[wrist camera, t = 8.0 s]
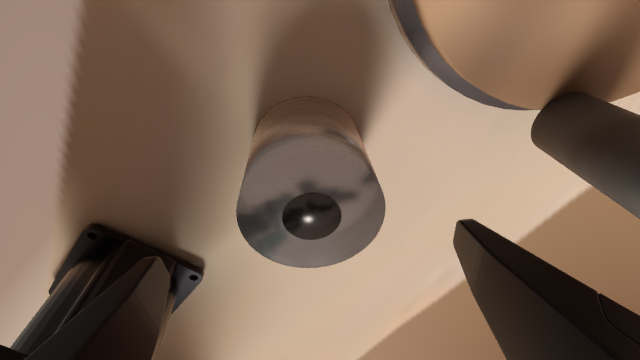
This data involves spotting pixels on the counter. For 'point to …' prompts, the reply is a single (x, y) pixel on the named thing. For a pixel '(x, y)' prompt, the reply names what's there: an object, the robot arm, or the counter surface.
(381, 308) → the counter surface
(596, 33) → the turntable
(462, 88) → the base
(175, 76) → the counter surface
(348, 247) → the cover
